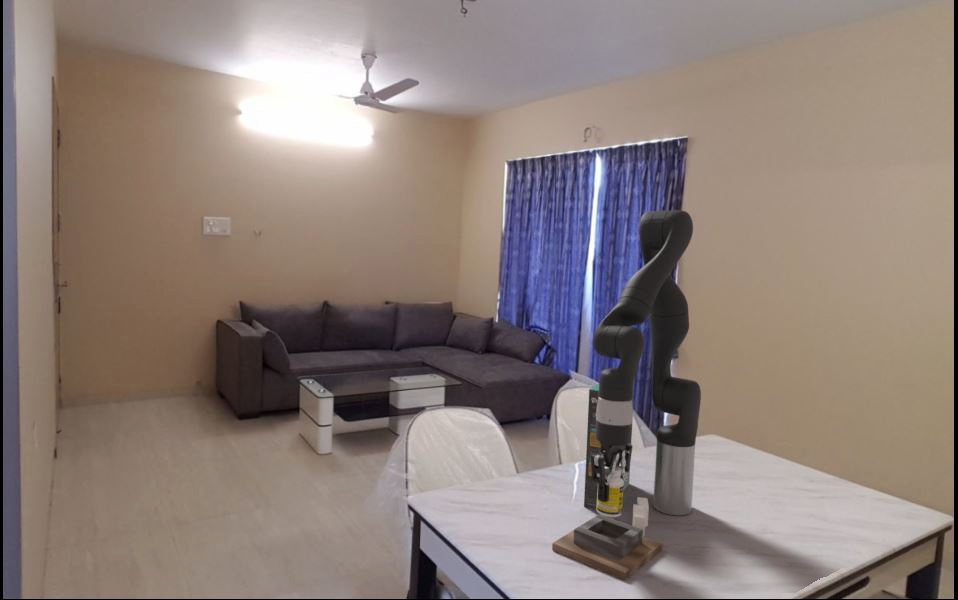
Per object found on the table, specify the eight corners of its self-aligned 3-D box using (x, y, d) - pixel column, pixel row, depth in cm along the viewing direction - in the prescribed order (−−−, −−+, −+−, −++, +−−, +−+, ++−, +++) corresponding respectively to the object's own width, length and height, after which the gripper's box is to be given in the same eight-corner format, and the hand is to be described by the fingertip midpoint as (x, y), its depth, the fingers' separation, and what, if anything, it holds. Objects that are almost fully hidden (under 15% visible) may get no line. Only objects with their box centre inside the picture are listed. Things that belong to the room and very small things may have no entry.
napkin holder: (643, 547, 129) (645, 522, 129) (602, 528, 138) (603, 504, 138) (682, 529, 139) (683, 505, 138) (641, 512, 148) (642, 490, 147)
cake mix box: (607, 479, 168) (613, 375, 166) (629, 483, 165) (634, 377, 163) (583, 506, 149) (589, 389, 147) (607, 512, 146) (613, 392, 144)
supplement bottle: (622, 519, 123) (625, 473, 122) (596, 516, 124) (598, 470, 123) (621, 509, 128) (624, 465, 128) (596, 506, 129) (598, 462, 129)
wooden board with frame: (593, 524, 139) (594, 505, 138) (662, 549, 128) (663, 529, 127) (552, 549, 126) (553, 529, 126) (624, 580, 115) (626, 558, 115)
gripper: (613, 429, 117) (609, 512, 118) (646, 416, 128) (641, 493, 129) (580, 421, 122) (576, 501, 123) (614, 409, 133) (610, 483, 134)
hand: (610, 496), depth 126 cm, fingers closed on supplement bottle, 5 cm apart
